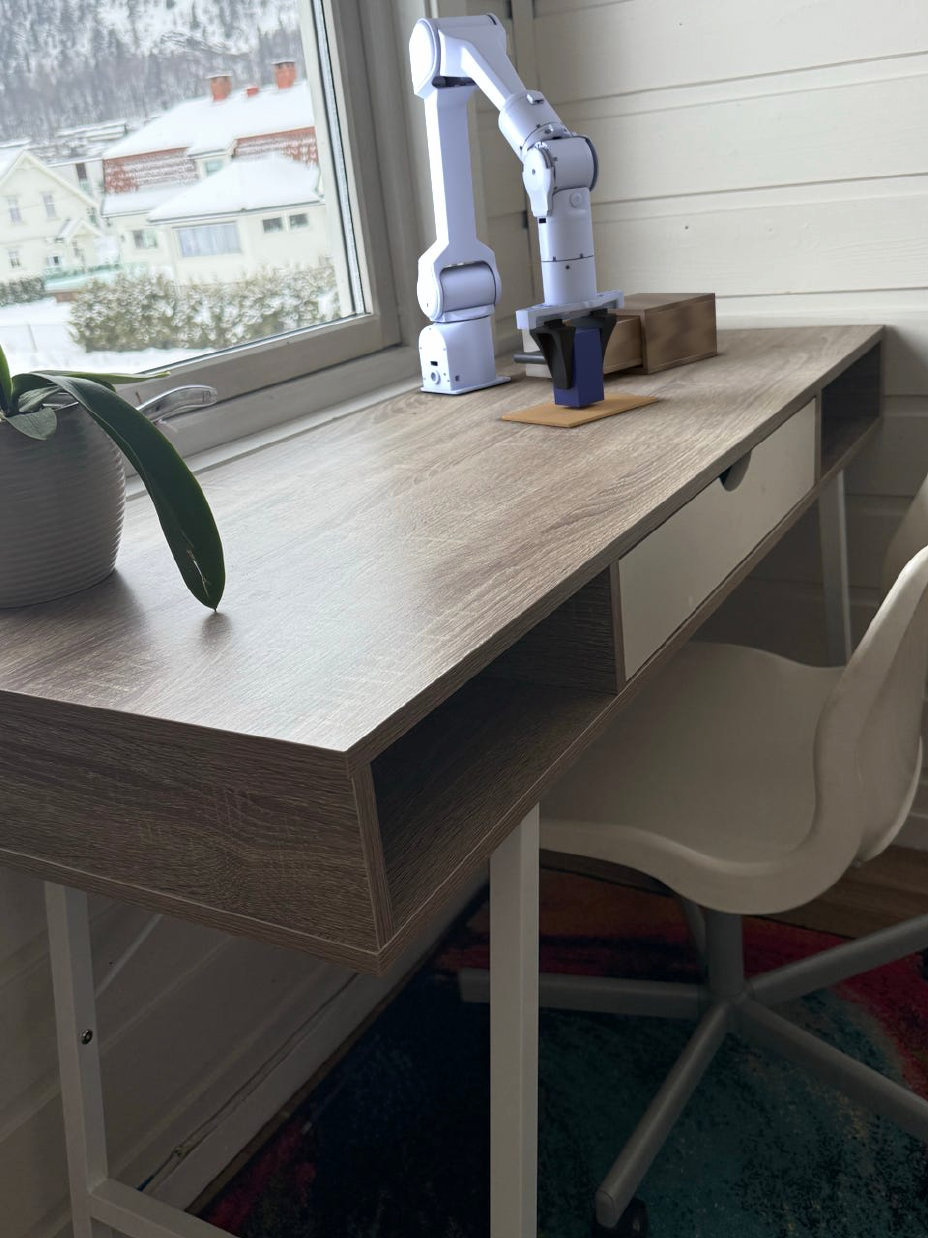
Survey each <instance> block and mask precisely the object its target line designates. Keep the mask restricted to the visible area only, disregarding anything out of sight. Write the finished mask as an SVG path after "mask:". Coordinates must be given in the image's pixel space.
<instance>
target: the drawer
mask: <svg viewBox="0 0 928 1238" xmlns="http://www.w3.org/2000/svg"><path fill="white" fill-rule="evenodd" d="M563 323H565V324H566V326H572V324H571V322H570V319H568V320H564V321H563ZM521 334H522V343H523V351H516V352H515V353H514V354H513V361H514V362H515V363H516V364H525V376H526V377H538V378H548V379H549V378H551V379H552V377H551V374H550V371H549V368H548V366H547V363H546V361H545V359H544V357H543V355H542V353H541V351H540V349H539V347H538V346H537V344H536V343H535V341H534V340H533V339H532V337H531V336H530V334H529V329H521ZM640 364H643V353H642V336H641V320H640V316H631V315H617V323H616V325H615V327H614V329H613V332H612V334H611V336H610V339H609V342H608V345H607V349H606V353H605V357H604V362H603V368H602V370H603V375H606V374H609V373H615V372H614V371H618V370H621V369H625V368H629V367H632V366H636V365H640Z"/></svg>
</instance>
